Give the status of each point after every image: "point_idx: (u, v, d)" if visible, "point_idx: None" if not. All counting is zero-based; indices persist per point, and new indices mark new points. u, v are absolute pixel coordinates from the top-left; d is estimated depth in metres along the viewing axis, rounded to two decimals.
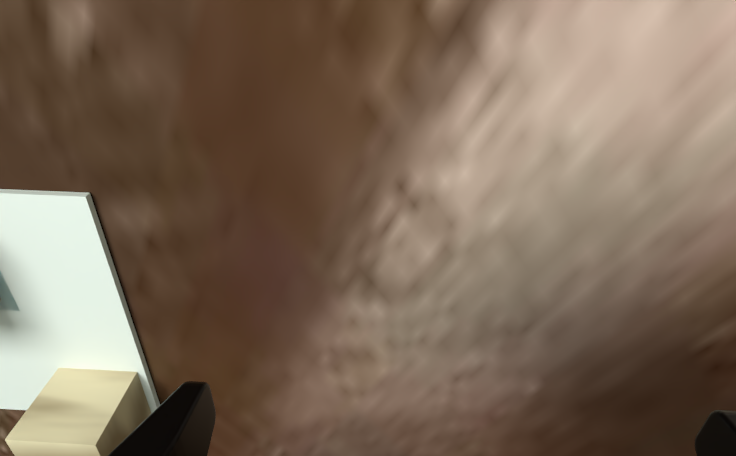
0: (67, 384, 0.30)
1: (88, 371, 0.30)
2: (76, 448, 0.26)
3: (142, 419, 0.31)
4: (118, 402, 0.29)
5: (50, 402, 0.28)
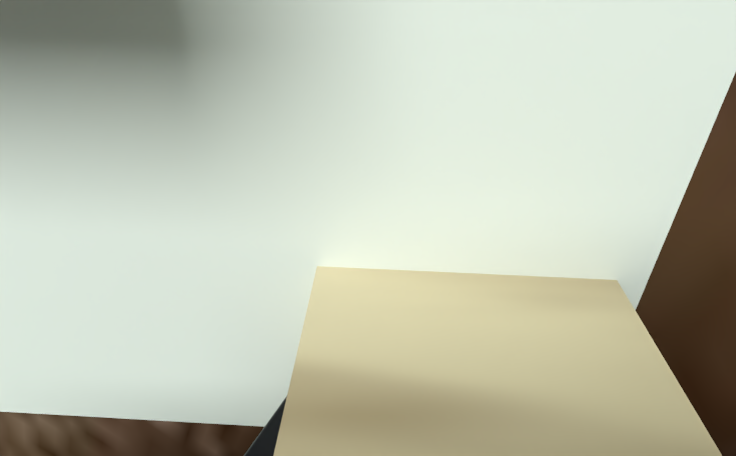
0: (391, 320, 0.07)
1: (436, 278, 0.08)
2: None
3: None
4: (678, 391, 0.06)
5: (369, 392, 0.06)
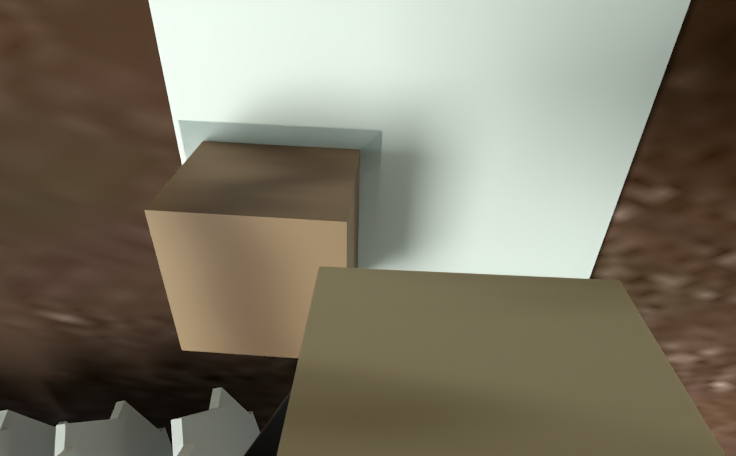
0: (394, 320, 0.07)
1: (438, 278, 0.08)
2: None
3: None
4: (681, 391, 0.06)
5: (372, 393, 0.06)
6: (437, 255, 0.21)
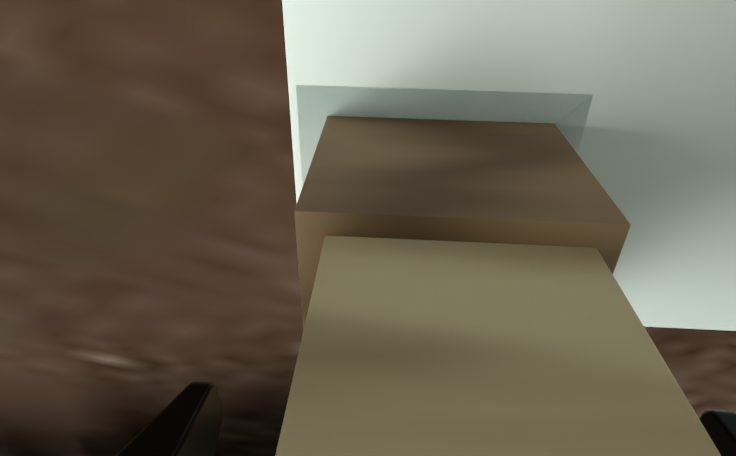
0: (392, 279, 0.08)
1: (433, 245, 0.09)
2: None
3: None
4: (644, 336, 0.07)
5: (374, 337, 0.07)
6: (630, 272, 0.15)
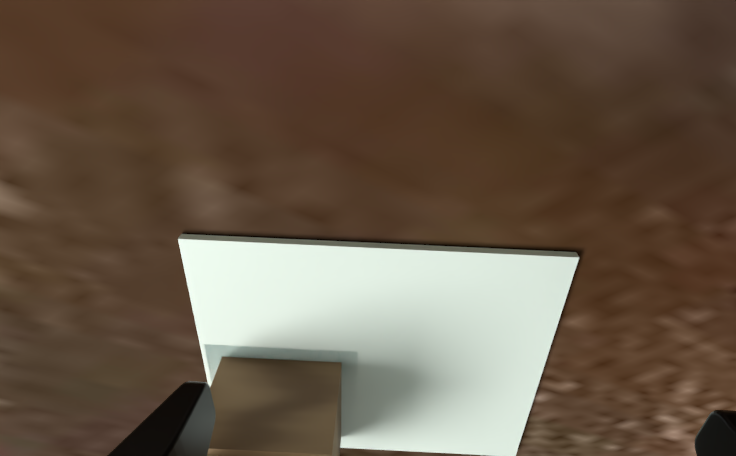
0: None
1: None
2: None
3: None
4: None
5: None
6: (403, 425, 0.27)
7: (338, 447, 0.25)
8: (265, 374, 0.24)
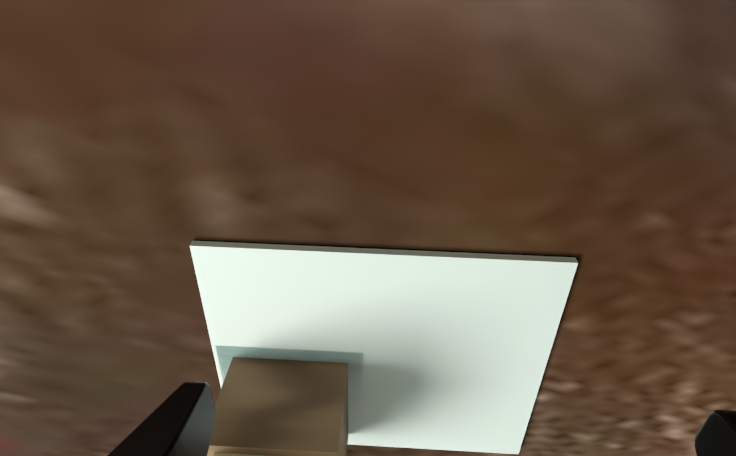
0: None
1: None
2: None
3: None
4: None
5: None
6: (408, 424, 0.28)
7: (345, 444, 0.26)
8: (274, 374, 0.24)
